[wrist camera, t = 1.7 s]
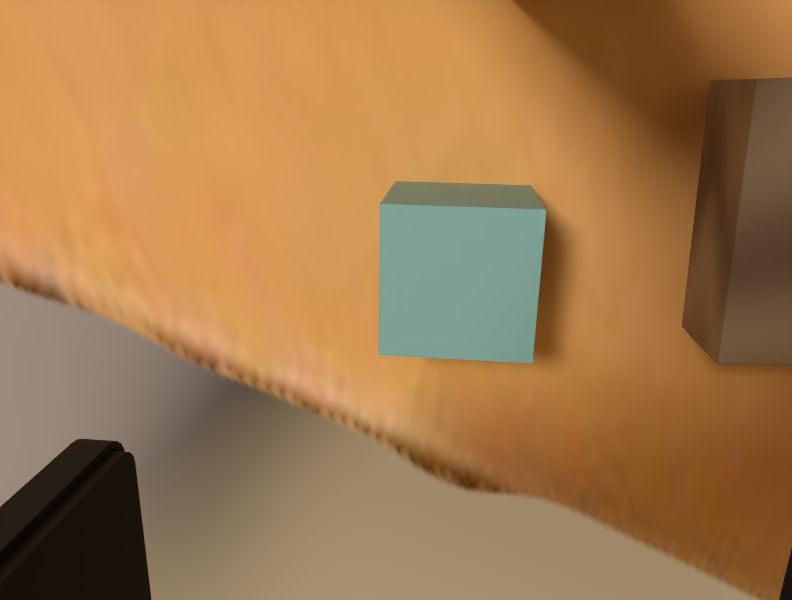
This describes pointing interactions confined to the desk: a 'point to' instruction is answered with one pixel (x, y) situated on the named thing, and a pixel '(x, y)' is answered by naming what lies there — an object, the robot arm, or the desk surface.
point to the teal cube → (460, 271)
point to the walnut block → (744, 226)
